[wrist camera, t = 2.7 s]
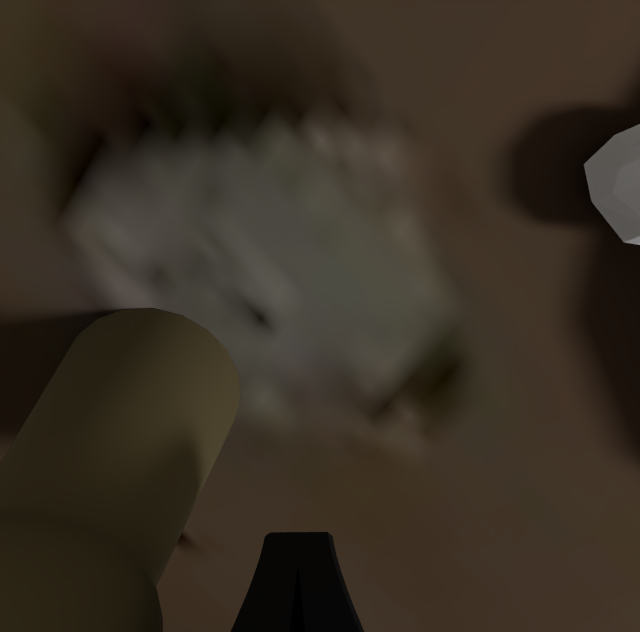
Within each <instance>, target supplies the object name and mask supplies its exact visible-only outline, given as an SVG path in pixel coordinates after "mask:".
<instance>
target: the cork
mask: <svg viewBox="0 0 640 632" xmlns="http://www.w3.org/2000/svg"><path fill="white" fill-rule="evenodd" d="M240 399H241V395H240V385H239V375H238V372H237V370H236V368H235V366H234V364H233V362H232V360H231V358H230V355H229V353H228V351H227V350H226V349H225V348H224V347H223V346H222V345H221V344H220V343H219V341H218V340H217V339H216V338H215V337H214V336H213V335H212V334H211V333H210V332H209V331H208V330H206V329H205V328H203V327H201V326H199V325H198V324H196V323H194V322H193V321H191V320H189V319H187V318H186V317H184V316H182V315H178V314H174V313H170V312H166V311H162V310H158V309H154V308H149V309H124V310H121V311H118V312H115V313H112V314H109V315H107V316H104V317H101V318H98V319H97V320H95V321H94V322H93V323H92V324H90V325H89V326H88V327H87V328H86V329H84V330H83V331H82V332H81V333H79V334H78V335H77V337H76V338H75V340H74V342H73V343H72V345H71V347H70V348H69V350H68V352H67V353H66V355H65V357H64V358H63V360H62V362H61V363H60V365H59V366H58V368H57V370H56V371H55V373H54V375H53V376H52V378H51V380H50V381H49V383H48V385H47V386H46V388H45V390H44V391H43V393H42V395H41V396H40V398H39V400H38V401H37V403H36V405H35V406H34V408H33V410H32V411H31V413H30V415H29V416H28V418H27V420H26V421H25V423H24V424H23V426H22V428H21V429H20V431H19V433H18V434H17V436H16V438H15V439H14V441H13V443H12V444H11V446H10V448H9V449H8V451H7V453H6V454H5V456H4V458H3V459H2V461H1V463H0V632H163V617H162V612H161V608H160V603H159V598H158V593H157V589H156V586H157V584H158V582H159V580H160V578H161V576H162V573H163V571H164V569H165V567H166V565H167V563H168V561H169V559H170V556H171V554H172V552H173V550H174V548H175V546H176V544H177V542H178V539H179V537H180V535H181V533H182V531H183V529H184V527H185V525H186V522H187V520H188V518H189V516H190V514H191V512H192V510H193V508H194V505H195V503H196V501H197V499H198V497H199V495H200V493H201V491H202V488H203V486H204V484H205V482H206V480H207V478H208V476H209V474H210V471H211V469H212V467H213V465H214V463H215V461H216V459H217V457H218V454H219V452H220V450H221V448H222V446H223V444H224V442H225V440H226V437H227V435H228V433H229V431H230V429H231V427H232V425H233V423H234V420H235V417H236V414H237V410H238V406H239V403H240Z"/></svg>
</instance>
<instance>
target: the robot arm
mask: <svg viewBox="0 0 640 632" xmlns="http://www.w3.org/2000/svg"><path fill="white" fill-rule="evenodd" d="M231 632H364V630H363V628H362V625H361V623H360V621H359V618H358V616H357V613H356V611H355V608H354V606H353V604H352V601H351V598H350V596H349V593H348V590H347V587H346V585H345V582H344V579H343V576H342V573H341V569H340V566H339V563H338V559H337V556H336V551H335V547H334V542H333V536H332V535H330V534H329V533H328V532H280V533H269V534H268V535H266V536H265V539H264V543H263V548H262V552H261V555H260V559H259V562H258V565H257V568H256V571H255V574H254V576H253V579H252V582H251V585H250V587H249V590H248V592H247V595H246V597H245V600H244V602H243V604H242V607H241V609H240V611H239V614H238V616H237V618H236V621H235V623H234V625H233V628H232V630H231Z"/></svg>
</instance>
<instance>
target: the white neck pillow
mask: <svg viewBox="0 0 640 632" xmlns="http://www.w3.org/2000/svg"><path fill="white" fill-rule="evenodd" d="M584 168H585V173H586V178H587V182H588V187H589V192H590V197H591V202H592V203H593V204H594V205H595V207H596V208H597V209H598V210H599V212H600V213H601V214H602V216H603V217H604V218H605V219H606V221H607V222H608V223H609V224H610V226H611V227H612V228H613V229H614V231H615V232H616V233H617V235H618V236H619V237H620V238H621V240H622V241H623V242H624V243H630V244H636V245H640V124H638V125H636V126H634V127H632V128H629V129H627V130H625V131H623V132H620V133H618V134H616V135H614V136H613V137H612V138H611V139H610V140H609V141H608V142H607V143H606V144H605V145H604V146H602V147H601V148H600V149H599V150H598V151H597V152H596V153H595V154H594V155H593V156H592V157H591V158H590V159H589V160H588V161H587V162H586V163H585V164H584Z"/></svg>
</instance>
